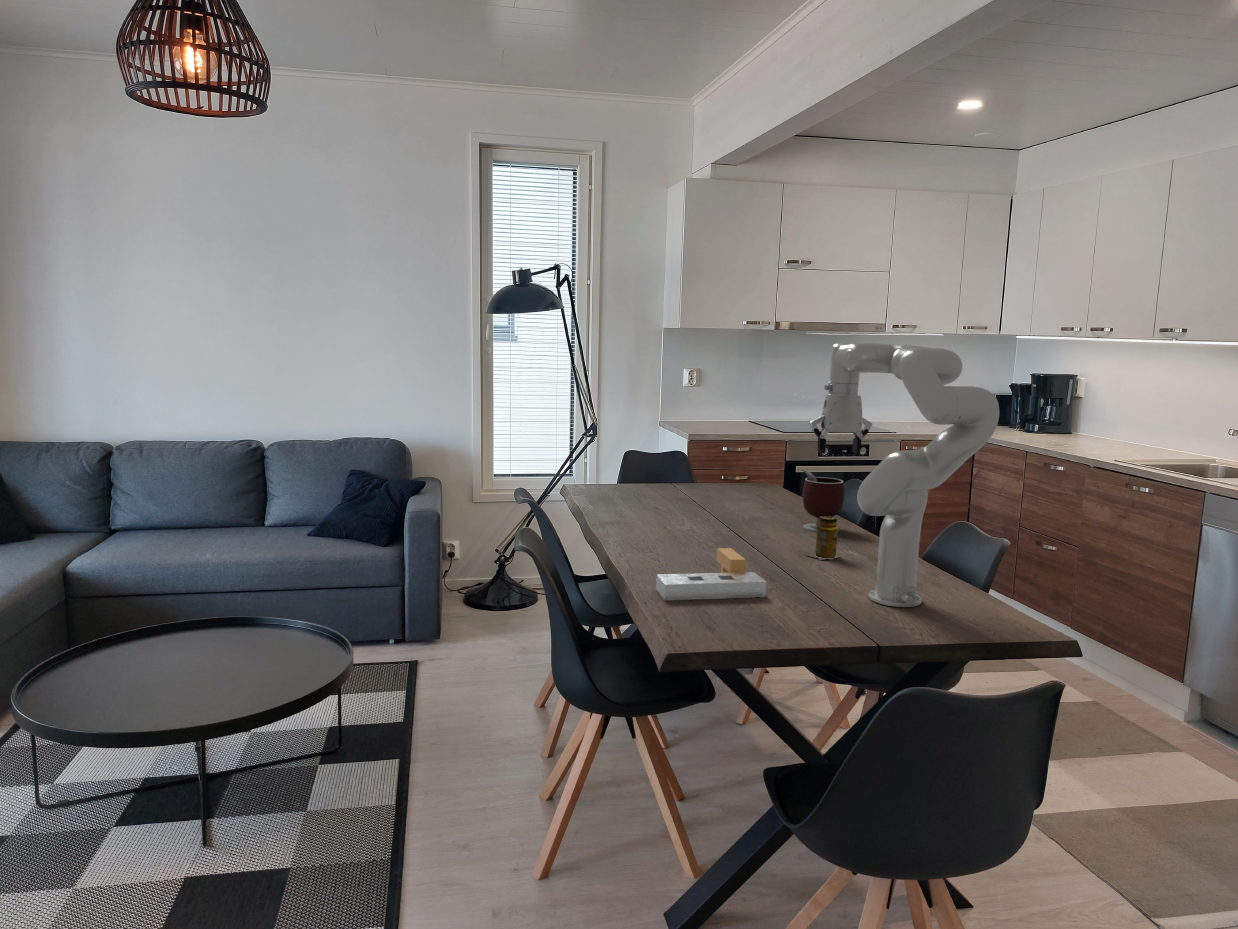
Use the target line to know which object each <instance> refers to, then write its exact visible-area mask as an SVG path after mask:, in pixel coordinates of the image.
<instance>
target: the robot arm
mask: <svg viewBox="0 0 1238 929" xmlns="http://www.w3.org/2000/svg"><path fill="white" fill-rule="evenodd" d="M962 371H963V362H962V360H961V357H960V356H959V355H958V354H957V353H956V352H954V351H952V350H950V349H946V348H940V347H930V346H921V345H920V346H917V345H910V344H904V345H902V344H889V343H868V342H867V343H866V342H865V343H864V342H863V343H862V342H856V343H849V342H847V343H845V342H843V343H842V342H838V343H835V344H833V346H832V348H831V359H830V372H829V382H828V384H825V385H824V388H823V390H824V391H827V392H828V393H827V394H826V395H825V398H824V402H823V406H822V412H821V415H820V416H818V417H816V418H814V419H811V420H810V421H809V426H810V428H811V429H812V430H811V431H812V433H814V434H815V435H816V437H817V447H816V448H817V450H818V453H819V454H826V447H827V438H825V437H826V436H828V434H829V433H841V434H842V433H845V434H846V433H849V434H850V433H852V434H853V435H854V437H853V439H852V448H851V449H852V453H854V454H856V455H859V454H860V451H861V450H862V440H863V439H864V438H865V436H867V435H868V434H869V432H870V430H871V428H872V426H873V423H872V422H871V421H869V420H868V419H866V418H864V417H863V405H862V397H861V395H859V394H858V393H859V381H860V373H863V374H864V373H874V374H875V373H876V374H877V373H878V374H892V375H893V376H895V377H896V378H897V379H898V380H901V381H902V383H903V385H904V387H905V389H906V390H907V392H908V393H909V395H910V396H911V398H912V400H913V402H914V404H915V406H916V407H917V408H918V410H919V412H920V413H921V415H922V416H923V417H924V418H925V419H926V420H927V421H928V422H930V423H932V424H933V425H939V426H940V425H942V426H945V425H946V426H947V425H950V427H948V428H946V429H945V430H943V431H941V432H939V433H938V434H937V435H936V436H934V438H933V440H931V441H930V442H929V443H928V444H927V445H926V446H924V447H922V448H919V449H911V450H910V449H909V450H905V449H903V450H898V451H894V452H893V453H890V454H888V455H887V456H886V457H885V458H883V460H881V461H880V463H878V464H877V466H876V467H875V468H874V469H873V470H872V471H871V472H870V473H869V474H868V475H867V476H866V477H865V479H864V480H863V481H862V482H861V483H860V485H859V487H858V490H857V495H856V496H857V497H856V499H857V505H858V507H859V508H860V510H861V511H862V512H863V513H864V514H866V515H868V516H873V517H882V516H884V518H883V520H882V523H881V525H880V530H879V539H878V550H877V551H878V552H877V565H876V578H875V579H876V580H875V588H874V589H871V590H870V591H868V598H869V600H871V601H873V602H874V603H877V604H880V605H883V606H889V607H896V608H911V607H912V608H914V607H917V606H920V605H921V604H922V597H921V596H920V595H918V594H917V579H918V578H917V577H918V574H917V573H918V564H919V553H920V552H919V550H920V540H921V531H922V524H923V519H924V518H923V517H924V513H925V510H926V507H927V504H928V498H929V492H928V490H933V489H936V488H938V487H939V486H941V485H942V484H943V483H944V482H945V481H946V480H947V479H949V477H950V476H952V475H953V474H954V473H956V471H957V470H958V469H959V468H960V467H961V466H963V464H964V463H965V462H966V461H968V460H969V459H970V458H971V457H972V456H973V455H975V453H977V452H978V451H979V450H980V449H981V448H982V447H984V446H985V445H986V443H988V441H989V440H990V439H991V438H992V436H993V434H994V433H995V432H996V429H997V426H998V425H999V424H998V423H999V419H1000V406H999V401H998V400H997V397H996V396H995V395H994V394H993V392H991V391H990V390H987V389H986V388H983V387H979V386H978V387H977V386H969V385H966V386H965V385H963V386H961V385H960V386H959V385H958V386H954V385H952V386H951V385H950V384H951V383H953V382H955V381H957V379H958V378H959V377H960V376H961V374H962ZM948 384H949V385H950V386H949V385H948ZM946 385H948V386H946ZM818 424H820V427H821V429H819V428H818Z"/></svg>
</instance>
